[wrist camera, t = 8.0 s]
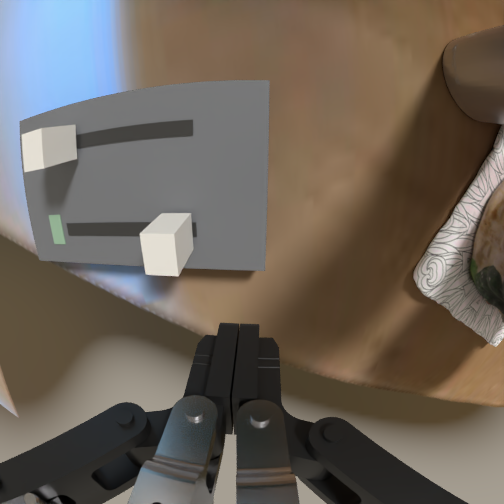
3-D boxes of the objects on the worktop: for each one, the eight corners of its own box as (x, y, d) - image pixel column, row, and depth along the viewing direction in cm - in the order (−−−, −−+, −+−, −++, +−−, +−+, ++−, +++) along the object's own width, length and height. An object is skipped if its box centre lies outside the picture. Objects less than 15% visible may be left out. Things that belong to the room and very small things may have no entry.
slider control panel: (268, 86, 20) (269, 80, 18) (265, 255, 27) (265, 271, 24) (37, 119, 21) (19, 121, 18) (54, 249, 27) (39, 260, 25)
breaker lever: (75, 124, 19) (41, 128, 15) (77, 158, 20) (44, 168, 16) (55, 129, 19) (21, 134, 15) (57, 162, 20) (24, 172, 16)
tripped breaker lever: (191, 213, 22) (174, 233, 18) (193, 249, 23) (178, 276, 19) (161, 213, 22) (139, 233, 18) (165, 248, 23) (145, 274, 19)
